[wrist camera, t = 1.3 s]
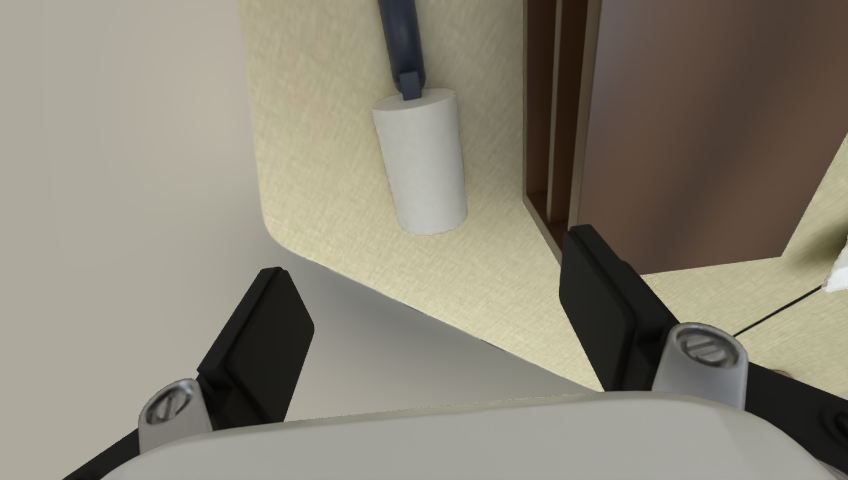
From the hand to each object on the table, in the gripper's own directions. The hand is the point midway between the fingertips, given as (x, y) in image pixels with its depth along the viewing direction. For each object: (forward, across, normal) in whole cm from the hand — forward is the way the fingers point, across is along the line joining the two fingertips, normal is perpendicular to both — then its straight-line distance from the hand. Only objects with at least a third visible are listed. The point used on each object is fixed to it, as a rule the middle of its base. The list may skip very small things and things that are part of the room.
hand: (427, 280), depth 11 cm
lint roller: (+17, 0, -2) cm, 18 cm away
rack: (+18, -14, -2) cm, 22 cm away
